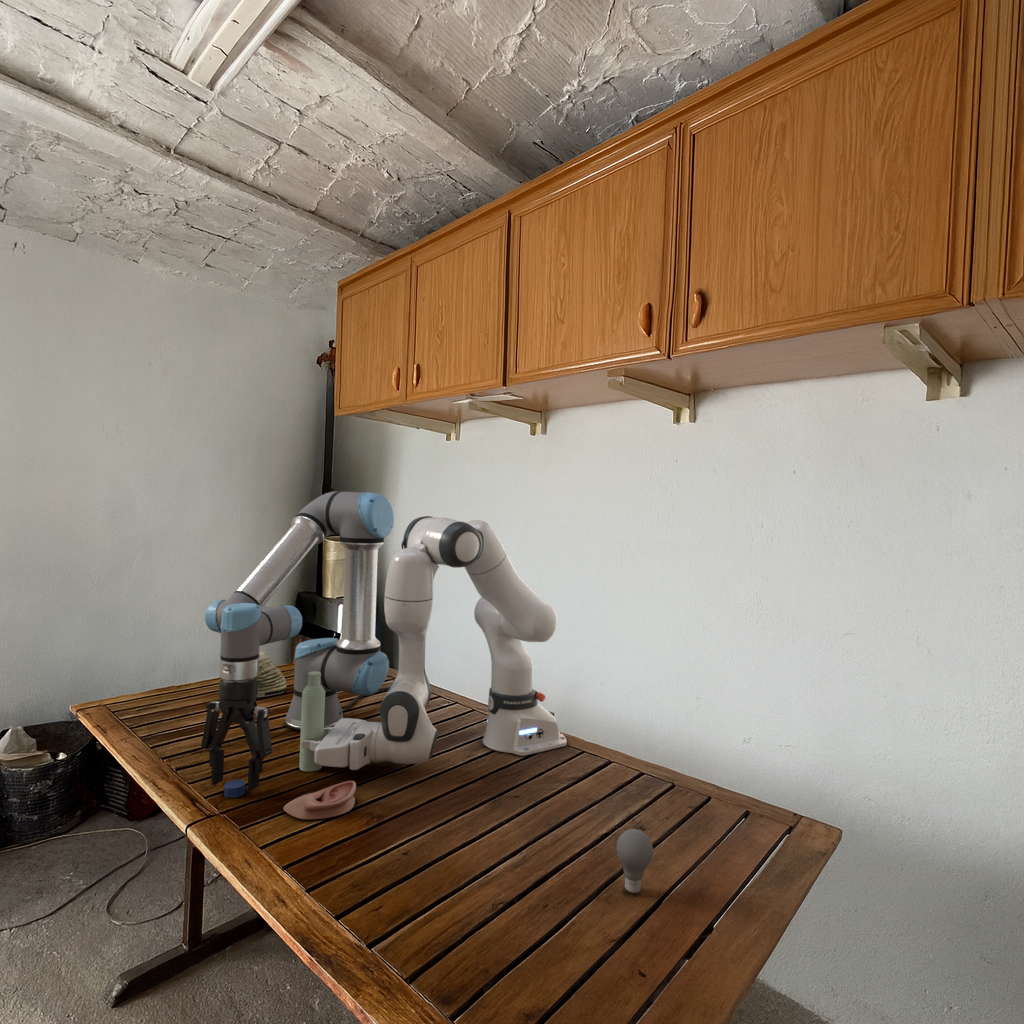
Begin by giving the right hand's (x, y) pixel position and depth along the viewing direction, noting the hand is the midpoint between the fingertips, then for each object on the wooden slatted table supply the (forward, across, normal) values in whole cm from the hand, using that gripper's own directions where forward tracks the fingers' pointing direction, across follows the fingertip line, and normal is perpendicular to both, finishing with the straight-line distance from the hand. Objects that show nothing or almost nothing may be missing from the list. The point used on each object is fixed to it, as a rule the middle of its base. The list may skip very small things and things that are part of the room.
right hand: (308, 738), depth 148 cm
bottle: (-1, 0, +7) cm, 7 cm away
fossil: (+34, -49, +7) cm, 60 cm away
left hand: (+10, +15, +5) cm, 18 cm away
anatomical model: (-9, +19, +7) cm, 22 cm away
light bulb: (-69, +41, +7) cm, 81 cm away
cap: (+10, +15, +5) cm, 19 cm away
